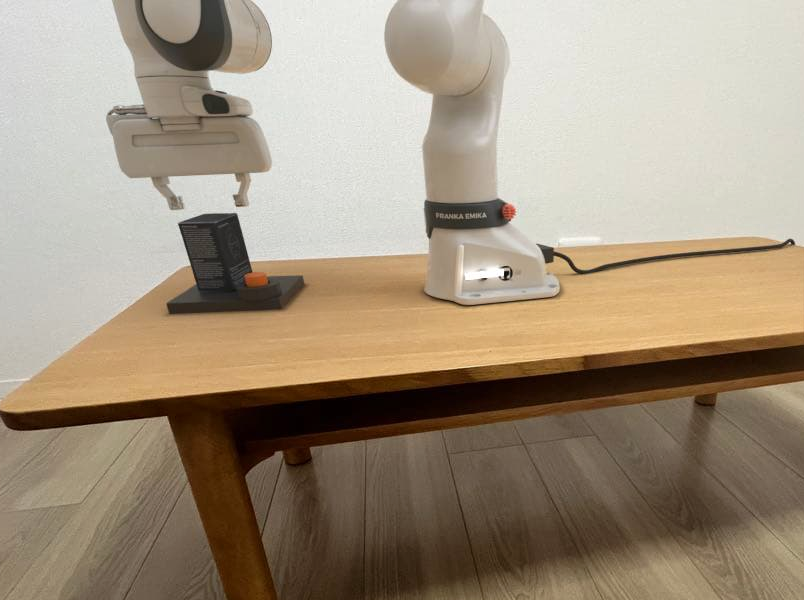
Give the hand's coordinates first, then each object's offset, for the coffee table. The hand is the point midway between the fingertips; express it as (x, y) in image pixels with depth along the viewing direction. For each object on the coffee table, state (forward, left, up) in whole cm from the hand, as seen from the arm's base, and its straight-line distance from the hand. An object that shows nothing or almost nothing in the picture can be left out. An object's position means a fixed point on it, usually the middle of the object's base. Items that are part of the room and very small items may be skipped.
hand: (210, 207), depth 81 cm
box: (+1, 0, -12) cm, 12 cm away
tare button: (-6, +6, -10) cm, 14 cm away
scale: (-2, +2, -14) cm, 14 cm away
